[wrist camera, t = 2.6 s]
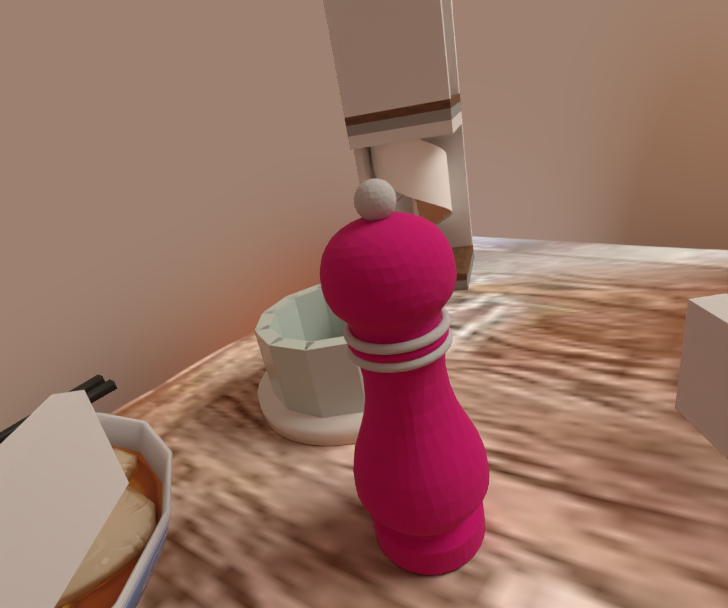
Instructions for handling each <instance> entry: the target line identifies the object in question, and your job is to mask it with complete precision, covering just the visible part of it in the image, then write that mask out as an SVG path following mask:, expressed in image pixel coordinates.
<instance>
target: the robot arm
mask: <svg viewBox="0 0 728 608" xmlns="http://www.w3.org/2000/svg"><path fill="white" fill-rule="evenodd" d="M675 408H676V409H677V410H678V411H679V412H680V413H681V414H682V415H683V416H684V417H685V418H686V419H687V420H688V421H689V422H690V423H691V424H692V425H693V426H694V427H695V428H696V429H697V430H698V431H699V432H700V433H701V434H702V435H703V436H704V437H705V438H706V439H707V440H708V441H709V442H710V443H711V444H712V445H713V446H714V447H716V448H717V449H718V450H719V451H720V452H721V453H722V454H723V455H724V456H725V457H726V458H727V459H728V294H727V293H726V294H719V295H713V296H706V297H699V298H693V299H688V306H687V314H686V322H685V330H684V339H683V347H682V355H681V363H680V372H679V380H678V388H677V396H676V405H675ZM128 484H129V482H128V480H127V478H126V476H125V473H124V471H123V469H122V467H121V465H120V463H119V461H118V459H117V457H116V455H115V453H114V451H113V448H112V446H111V444H110V442H109V440H108V438H107V436H106V434H105V432H104V430H103V428H102V426H101V424H100V421H99V419H98V417H97V415H96V413H95V411H94V409H93V407H92V405H91V403H90V401H89V399H88V397H87V394H86V392H85V390H80V391H73V392H66V393H60V394H53V395H51V396H50V397H49V398H48V399H47V400H46V401H45V402H44V403H43V404H42V405H41V406H39V407H38V408H37V409H36V410H35V411H34V412H33V413H32V414H31V415H30V416H29V417H28V418H27V419H26V420H25V421H24V422H23V423H22V424H21V425H20V426H19V427H18V428H17V429H16V430H15V431H14V432H12V433H11V434H10V435H9V436H8V437H7V438H6V439H5V440H4V441H3V442H2V443H1V444H0V608H54V607H55V606H56V604H57V602H58V600H59V599H60V597H61V595H62V594H63V592H64V590H65V589H66V587H67V585H68V584H69V582H70V580H71V579H72V577H73V575H74V574H75V572H76V570H77V569H78V567H79V565H80V564H81V562H82V560H83V559H84V557H85V555H86V554H87V552H88V550H89V549H90V547H91V545H92V544H93V542H94V540H95V539H96V537H97V535H98V534H99V532H100V530H101V529H102V527H103V525H104V524H105V522H106V520H107V519H108V517H109V515H110V514H111V512H112V510H113V509H114V507H115V505H116V504H117V502H118V500H119V499H120V497H121V495H122V494H123V492H124V490H125V489H126V487H127V485H128Z"/></svg>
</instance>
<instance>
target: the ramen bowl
mask: <svg viewBox="0 0 728 608" xmlns="http://www.w3.org/2000/svg"><path fill="white" fill-rule="evenodd" d="M115 389H117V387H116V385H115V383H114V381H112V380H108V381H106V382H105V381H104V379H103V376H101V375H97V376H95V377H93V378H91V379H90V380H88V381H86V382H85V383H83V384H81V385H79V386H78V387H76V388H74V389H73V390H71V391H69V392H73V391H80V390H85V392H86V394H87V397H88V399H89V401H90V403H93V402H94V401H96V400H98V399H100V398H101V397H103V396H105V395H107V394H108V393H110V392H112V391H114V390H115ZM30 415H31V414H30ZM30 415H29V416H30ZM96 415H97V417H98V419H99V421H100V424H101V426H102V428H103V430H104V432H105V434H106V436H107V438H108V440H109V442H110V444H111V446H112V448H113V451H114V453H115V455H116V457H117V459H118V461H119V463H120V465H121V467H122V469H123V471H124V473H125V476H126V478H127V480H128V482H129V484H128V485H127V487H126V489H125V490H124V492H123V494H122V495H121V497H120V499H119V500H118V502H117V504H116V505H115V507H114V509H113V510H112V512H111V514H110V515H109V517H108V519H107V520H106V522H105V524H104V525H103V527H102V529H101V530H100V532H99V534H98V535H97V537H96V539H95V540H94V542H93V544H92V545H91V547H90V549H89V550H88V552H87V554H86V555H85V557H84V559H83V560H82V562H81V564H80V565H79V567H78V569H77V570H76V572H75V574H74V575H73V577H72V579H71V580H70V582H69V584H68V585H67V587H66V589H65V590H64V592H63V594H62V595H61V597H60V599H59V600H58V602H57V604H56V606H55V607H54V608H136V606H137V604H138V602H139V600H140V598H141V596H142V594H143V592H144V590H145V588H146V586H147V584H148V582H149V580H150V578H151V575H152V573H153V571H154V569H155V567H156V565H157V563H158V560H159V558H160V555H161V552H162V549H163V546H164V543H165V540H166V538H167V532H168V525H169V518H170V511H171V481H172V451H171V450H170V449H169V447H168V446H167V445H166V444H165V443H164V442H163V440H162V439H161V438H160V437H159V436H158V434H157V433H156V432H155V431H154V430H153V429H152V427H151V426H150V425H149V424H148V423H147V422H146V421H142V420H137V419H132V418H127V417H122V416H117V415H112V414H107V413H101V412H98V413H96ZM29 416H27V417H25V418H24V419H22V420H20V421H19V422H17V423H16V424H14V425H12V426H11V427H9V428H7V429H5V430H3V431H2V432H0V444H1V443H2V442H3V441H4V440H5V439H6V438H7V437H8V436H9V435H10V434H11V433H12V432H14V431H15V430H16V429H17V428H18V427H19V426H20V425H21V424H22V423H23V422H24V421H25V420H26V419H27V418H28V417H29Z"/></svg>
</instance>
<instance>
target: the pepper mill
mask: <svg viewBox="0 0 728 608" xmlns="http://www.w3.org/2000/svg"><path fill="white" fill-rule="evenodd" d="M396 203H397V202H396V194H395V191H394V189H393V187H392V186H391V185H390V184H389V183H388V182H386V181H385V180H381V179H378V178H376V179H369V180H366V181H365V182H363V183H362V184H361V185H360V186H359V187H358V189H357V190H356V192H355V196H354V205H355V208H356V210H357V213H358V214H359V215H360V216H361V217H362V218H360V219H358V220H355V221H353V222H351V223H349V224H348V225H346V226H345V227H343V228H342V229H341V230H339V231H338V232H337V233H336V234H335V235H334V236H333V237H332V238H331V240H330V241H329V243H328V245H327V246H326V248H325V251H324V253H323V255H322V259H321V266H320V280H321V289H322V292H323V295H324V298H325V301H326V303H327V304H328V306H329V307H330V309H331V310H332V312H333V313H334V314H335V315H336V316H337V317H339V318H340V319H342V320H343V321H345V322H346V324H345V326H344V330H343V336H344V339H345V341H346V342H347V354H348V356H349V358H350V360H351V361H352V362H353V363H354V364H356V365H357V366H359V367H360V369H361V372H362V375H363V383H364V393H365V405H364V413H363V418H362V422H361V426H360V429H359V433H358V437H357V440H356V445H355V453H354V470H353V471H354V478H355V485H356V489H357V493H358V496H359V498H360V500H361V502H362V504H363V506H364V508H365V509H366V510H367V511H368V512H369V513H370V515H371V516H373V522H374V526H375V530H376V535H377V539H378V542H379V545H380V547H381V549H382V550H383V552H384V554H385V555H386V556H387V557H388V558H389V559H390V560H391V561H392V562H393V563H395V564H396V565H398V566H399V567H401V568H403V569H405V570H407V571H409V572H413V573H418V574H423V575H439V574H442V573H446V572H449V571H453V570H456V569H457V568H459V567H460V566H462V565H464V564H465V563H467V562H468V561H469V560H470V559H471V558H472V557H473V556H474V555H475V554H476V552H477V551H478V549H479V548H480V546H481V544H482V541H483V539H484V534H485V518H484V509H483V499H484V497H485V495H486V493H487V489H488V485H489V466H488V461H487V455H486V451H485V448H484V445H483V442H482V440H481V438H480V436H479V433H478V431H477V429H476V428H475V426H474V424H473V423H472V422H471V420H470V419H469V417H468V416H467V414H466V413H465V411H464V410H463V408H462V407H461V405H460V404H459V402H458V401H457V399H456V397H455V394H454V392H453V390H452V387H451V385H450V382H449V378H448V373H447V369H446V365H445V353H446V352H447V350H448V349H449V348H450V346H451V343H452V338H453V337H452V332H451V330H450V328H449V325H450V315H449V313H448V311H447V310H446V309H445V308H444V307H443V306H444V305H445V304H446V302H447V301H448V300H449V299H450V297H451V295H452V293H453V291H454V287H455V283H456V279H457V276H456V263H455V259H454V255H453V251H452V247H451V246H450V244H449V242H448V240H447V238H446V236H445V235H444V234H443V233H442V231H441V230H440V229H439V228H438V227H437V226H436V225H435V224H433V223H432V222H430V221H428V220H427V219H425V218H423V217H421V216H418V215H414V214H410V213H403V212H393V211H394V209H395V206H396Z"/></svg>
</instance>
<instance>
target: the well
mask: <svg viewBox="0 0 728 608" xmlns="http://www.w3.org/2000/svg"><path fill="white" fill-rule="evenodd" d="M345 324H346V322H345V321H343V320H342V319H340V318H339V317H337V316H336V315H335V314H334V313H333V312H332V310H331V309H330V307H329V306H328V304H327V303H326V301H325V298H324V295H323V292H322V289H321V284H318V285H315V286H312V287H310V288H307V289H304V290H301V291H299V292H296V293H294V294H291V295H288V296H286V297H284V298H283V299H282V300H280V301H279V302H277V303H276V304H274V305H273V306H271V307H270V308H269V309H267V310H266V311H264V312H263V313H262V315H261V317H260V320H259V322H258V324H257V326H256V329H255V334H256V337H257V340H258V344H259V347H260V350H261V353H262V357H263V360H264V363H265V366H266V372H265V373H264V375H263V376H262V378H261V381H260V383H259V387H258V400H259V404H260V407H261V410H262V413H263V416H264V418H265V420H266V422H267V424H268V425H269V426H270V427H271V428H272V430H274V431H275V432H276V433H278V434H279V435H281V436H283V437H285V438H287V439H289V440H292V441H295V442H298V443H303V444H308V445H318V446H336V445H346V444H352V443H356V440H357V437H358V433H359V429H360V426H361V422H362V418H363V413H364V405H365V393H364V383H363V375H362V372H361V369H360V367H359V366H357V365H356V364H354V363H353V362H352V361H351V360H350V358H349V356H348V354H347V342H346V341H345V339H344V336H343V330H344V326H345Z"/></svg>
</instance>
